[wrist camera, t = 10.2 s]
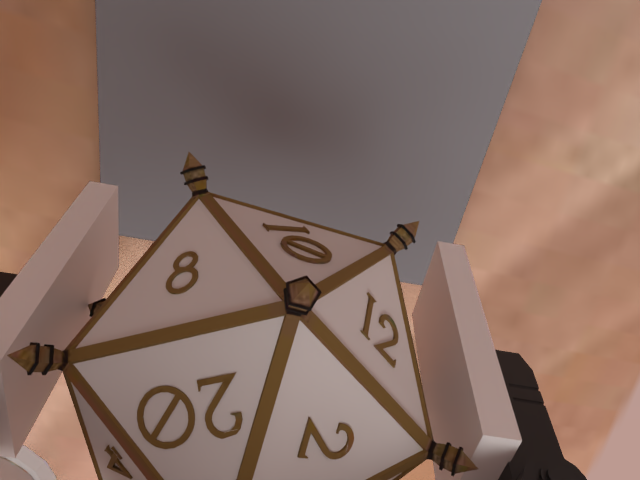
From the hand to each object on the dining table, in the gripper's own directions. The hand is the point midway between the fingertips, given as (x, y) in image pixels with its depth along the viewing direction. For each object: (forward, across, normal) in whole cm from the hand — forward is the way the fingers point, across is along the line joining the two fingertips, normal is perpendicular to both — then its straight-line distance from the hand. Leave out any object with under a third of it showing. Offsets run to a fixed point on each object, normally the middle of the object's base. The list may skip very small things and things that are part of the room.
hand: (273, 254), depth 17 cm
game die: (+1, 0, 0) cm, 1 cm away
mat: (+13, 0, 0) cm, 13 cm away
